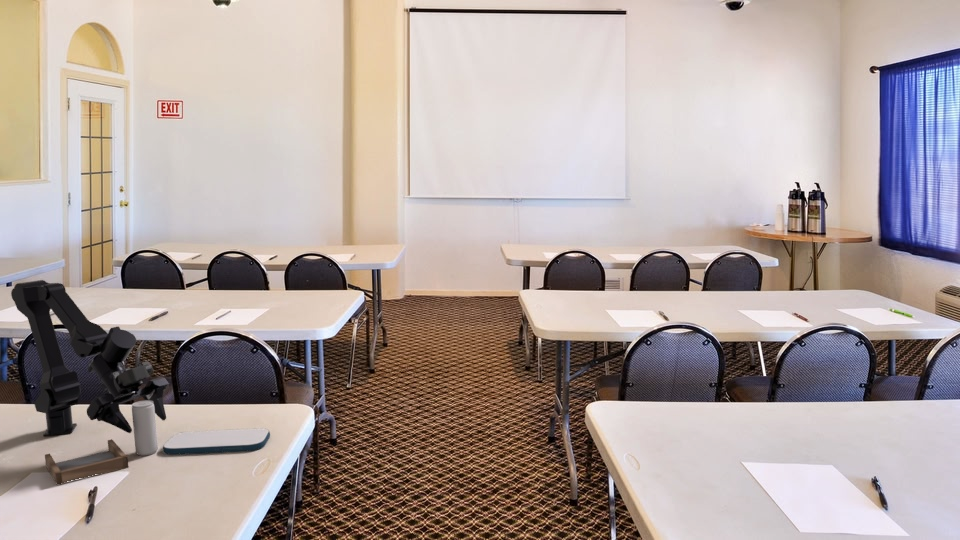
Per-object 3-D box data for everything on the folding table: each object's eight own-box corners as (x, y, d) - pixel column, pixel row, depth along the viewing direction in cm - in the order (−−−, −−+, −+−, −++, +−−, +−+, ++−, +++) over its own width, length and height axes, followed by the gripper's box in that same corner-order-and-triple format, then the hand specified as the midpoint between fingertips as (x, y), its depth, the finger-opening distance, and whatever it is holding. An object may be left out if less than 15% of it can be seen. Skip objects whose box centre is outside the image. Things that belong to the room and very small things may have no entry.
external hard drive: (272, 435, 182) (272, 427, 182) (262, 452, 171) (262, 444, 170) (176, 439, 180) (175, 431, 180) (159, 457, 169) (158, 449, 169)
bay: (45, 465, 165) (44, 454, 164) (113, 449, 173) (112, 439, 173) (57, 485, 154) (56, 473, 154) (128, 467, 163) (127, 456, 162)
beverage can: (149, 457, 168) (145, 407, 167) (131, 455, 169) (126, 406, 168) (162, 449, 173) (158, 400, 171) (144, 448, 174) (140, 399, 172)
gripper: (89, 363, 162) (126, 417, 158) (160, 344, 178) (195, 393, 174) (70, 393, 166) (106, 446, 163) (142, 372, 183) (175, 420, 179)
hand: (148, 425), depth 170 cm, fingers open, 9 cm apart
